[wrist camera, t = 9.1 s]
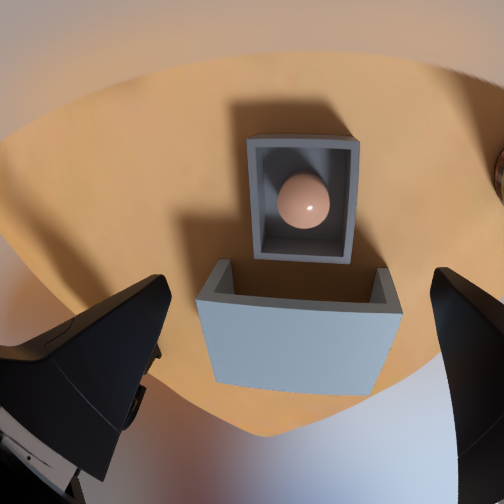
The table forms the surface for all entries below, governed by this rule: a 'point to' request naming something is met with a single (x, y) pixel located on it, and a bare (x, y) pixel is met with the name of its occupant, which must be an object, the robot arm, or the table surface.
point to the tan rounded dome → (303, 199)
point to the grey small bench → (297, 337)
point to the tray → (271, 180)
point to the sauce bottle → (500, 177)
